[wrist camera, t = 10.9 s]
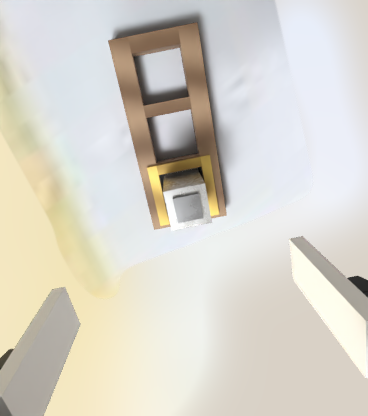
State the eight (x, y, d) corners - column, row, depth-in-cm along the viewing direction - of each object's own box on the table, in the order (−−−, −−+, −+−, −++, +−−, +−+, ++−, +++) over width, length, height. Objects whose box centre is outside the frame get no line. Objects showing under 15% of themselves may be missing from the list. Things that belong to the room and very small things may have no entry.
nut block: (164, 174, 38) (162, 192, 29) (196, 167, 38) (205, 184, 29) (170, 205, 40) (171, 232, 31) (202, 198, 40) (212, 223, 31)
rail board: (111, 44, 33) (107, 39, 31) (195, 27, 33) (197, 21, 31) (154, 224, 41) (154, 230, 38) (223, 210, 40) (227, 216, 38)
